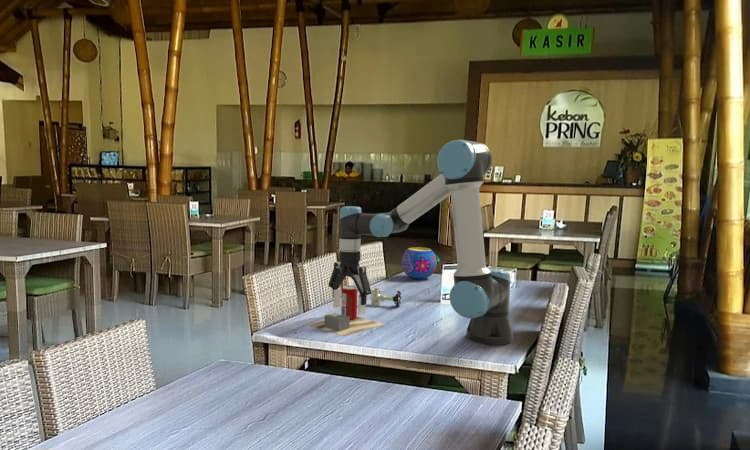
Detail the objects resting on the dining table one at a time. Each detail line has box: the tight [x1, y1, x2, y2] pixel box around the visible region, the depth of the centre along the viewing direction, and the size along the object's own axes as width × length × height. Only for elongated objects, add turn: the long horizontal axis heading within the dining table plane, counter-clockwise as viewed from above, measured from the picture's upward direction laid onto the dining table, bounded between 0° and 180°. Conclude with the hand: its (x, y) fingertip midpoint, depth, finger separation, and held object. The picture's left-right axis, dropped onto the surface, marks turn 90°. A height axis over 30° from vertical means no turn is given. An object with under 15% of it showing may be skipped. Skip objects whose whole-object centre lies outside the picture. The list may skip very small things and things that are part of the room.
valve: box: [370, 287, 402, 308], centre depth 229 cm, size 7×7×12 cm
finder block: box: [324, 312, 350, 331], centre depth 193 cm, size 7×5×4 cm
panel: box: [307, 316, 386, 337], centre depth 197 cm, size 18×20×1 cm
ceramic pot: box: [401, 247, 440, 280], centre depth 286 cm, size 18×18×15 cm
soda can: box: [340, 285, 358, 321], centre depth 203 cm, size 6×6×12 cm
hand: (348, 310), depth 203 cm, fingers open, 12 cm apart
